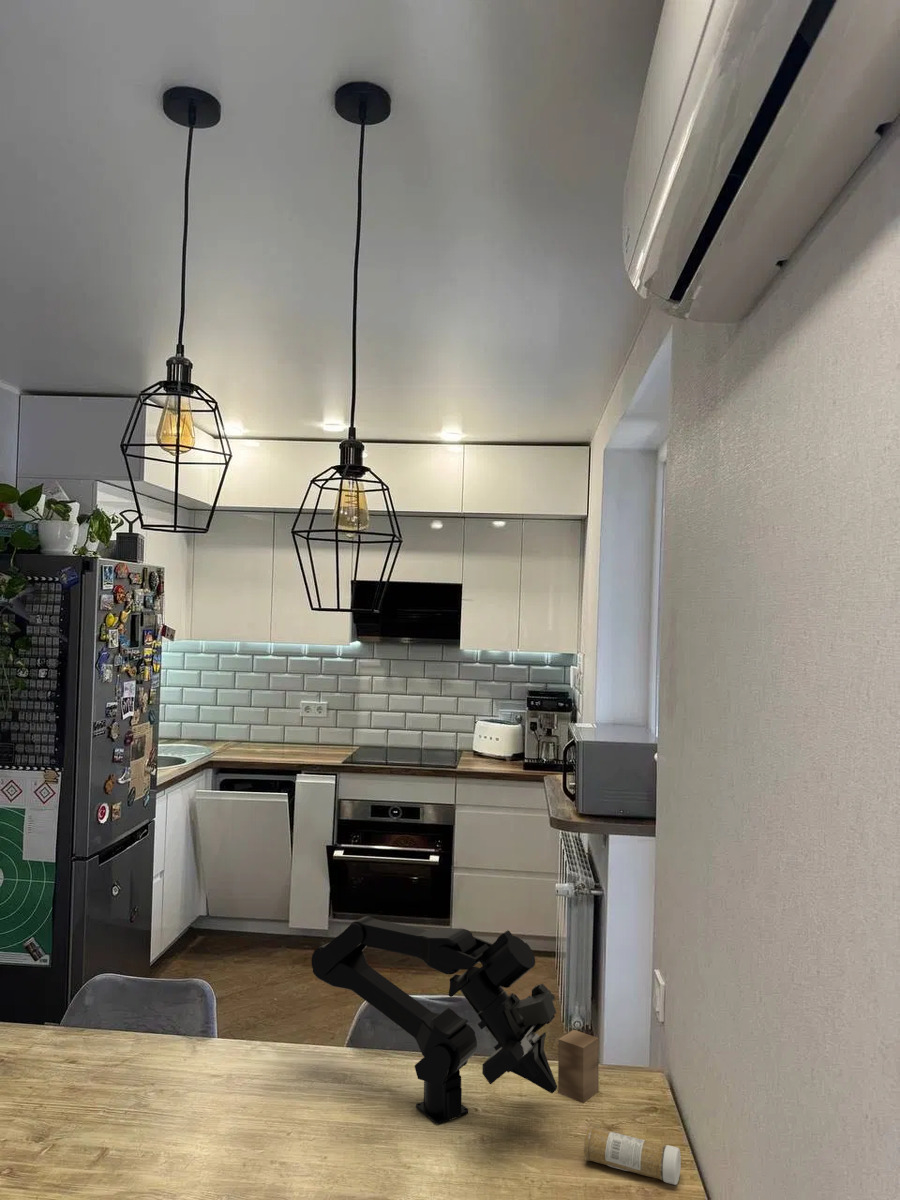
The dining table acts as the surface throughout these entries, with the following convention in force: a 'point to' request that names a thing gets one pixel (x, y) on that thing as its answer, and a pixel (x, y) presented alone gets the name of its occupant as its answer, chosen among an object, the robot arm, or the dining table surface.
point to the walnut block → (578, 1066)
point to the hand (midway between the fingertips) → (554, 1090)
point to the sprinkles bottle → (633, 1154)
